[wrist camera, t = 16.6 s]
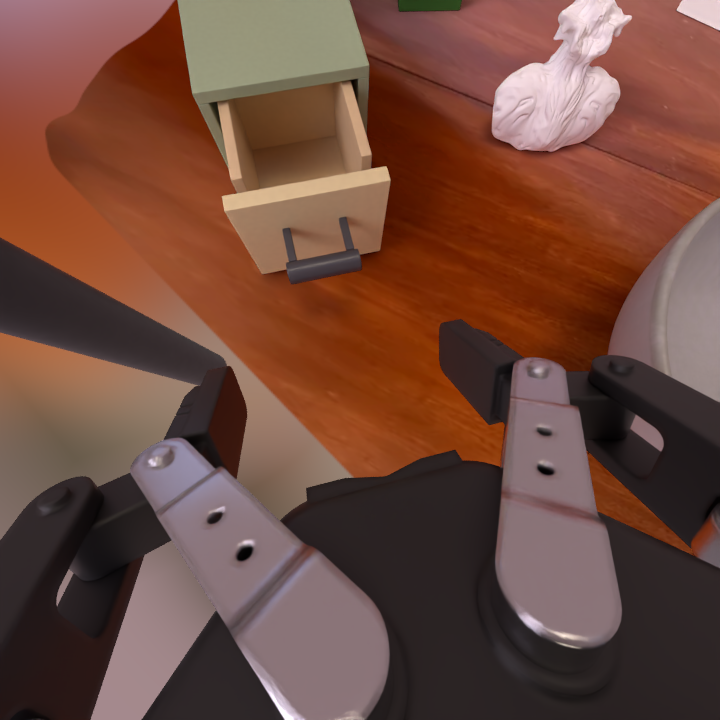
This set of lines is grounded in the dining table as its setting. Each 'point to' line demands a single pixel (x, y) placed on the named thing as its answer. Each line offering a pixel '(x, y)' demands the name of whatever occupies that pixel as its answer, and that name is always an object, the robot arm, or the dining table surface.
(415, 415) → the dining table surface
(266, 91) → the cabinet
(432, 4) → the hardback book
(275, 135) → the drawer
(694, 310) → the decorative bowl
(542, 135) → the bust
